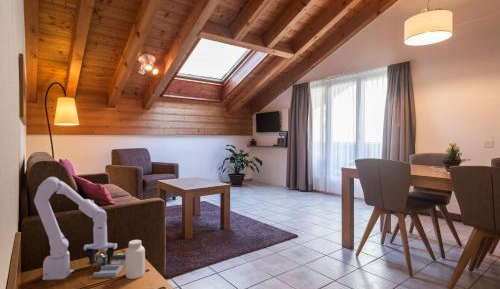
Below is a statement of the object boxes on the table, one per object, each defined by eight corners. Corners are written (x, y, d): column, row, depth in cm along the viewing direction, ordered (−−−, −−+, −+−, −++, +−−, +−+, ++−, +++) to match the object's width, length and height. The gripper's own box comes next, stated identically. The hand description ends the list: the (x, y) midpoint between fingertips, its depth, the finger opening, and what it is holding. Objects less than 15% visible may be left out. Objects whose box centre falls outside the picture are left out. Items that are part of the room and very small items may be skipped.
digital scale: (122, 268, 133) (121, 261, 133) (103, 269, 132) (103, 262, 132) (129, 259, 143) (129, 253, 143) (112, 260, 142) (112, 253, 142)
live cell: (94, 269, 132) (94, 256, 132) (98, 265, 136) (98, 253, 136) (103, 268, 133) (103, 256, 133) (107, 265, 137) (106, 252, 137)
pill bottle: (138, 280, 121) (137, 245, 121) (121, 278, 123) (121, 244, 122) (148, 271, 129) (148, 239, 129) (133, 270, 130) (132, 238, 130)
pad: (120, 265, 134) (120, 263, 134) (108, 266, 134) (108, 264, 134) (124, 261, 140) (124, 259, 140) (113, 261, 139) (113, 259, 139)
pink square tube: (92, 262, 140) (92, 256, 140) (99, 256, 147) (99, 250, 147) (107, 261, 140) (107, 255, 140) (113, 256, 147) (113, 250, 147)
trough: (93, 277, 124) (93, 273, 124) (101, 269, 131) (101, 265, 131) (116, 276, 124) (115, 272, 124) (122, 268, 132) (122, 264, 132)
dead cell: (97, 260, 141) (96, 248, 141) (101, 257, 145) (100, 245, 145) (105, 259, 141) (105, 247, 141) (109, 256, 145) (108, 245, 145)
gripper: (80, 239, 130) (80, 268, 130) (112, 237, 131) (113, 266, 131) (87, 233, 137) (88, 261, 137) (118, 232, 138) (119, 260, 138)
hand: (101, 263), depth 135 cm, fingers open, 7 cm apart
